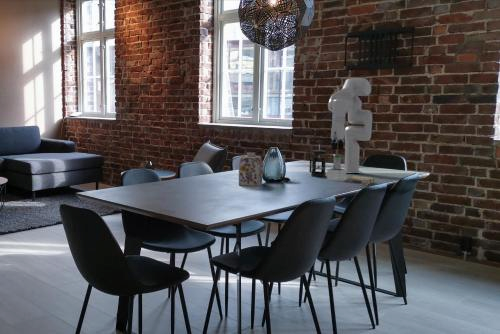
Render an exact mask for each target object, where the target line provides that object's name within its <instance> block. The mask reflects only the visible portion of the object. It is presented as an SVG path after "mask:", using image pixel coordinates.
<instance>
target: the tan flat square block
mask: <svg viewBox="0 0 500 334" xmlns="http://www.w3.org/2000/svg"><path fill="white" fill-rule="evenodd" d="M346 179H347V180H346V181H347V183H355V184H362V185H364V184H369V183H372V182H374V183H375V177H368V176H358V175H356V176H355V175H354V176H352V177H348V178H347V177H346Z"/></svg>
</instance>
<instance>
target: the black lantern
mask: <svg viewBox="0 0 500 334" xmlns="http://www.w3.org/2000/svg"><path fill="white" fill-rule="evenodd" d="M316 143H318V149H314V150H312V155H316V156H320V155H326V153H327V150H323V149H321V147H320V145H321V143H323V140H316ZM317 162H318V164H317ZM320 162H321V166H320ZM326 162H327V158H323V157H310V158H309V173H310V175H311V177H313V178H327V172H326ZM317 170H320V171H317Z"/></svg>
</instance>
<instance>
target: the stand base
mask: <svg viewBox="0 0 500 334" xmlns="http://www.w3.org/2000/svg"><path fill="white" fill-rule="evenodd" d="M346 170H347V169H344V168H341V170H333V167H332V168H328V169H327V171H326V178H324V179H323V181H333V182H346V181H347V174H346Z"/></svg>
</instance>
